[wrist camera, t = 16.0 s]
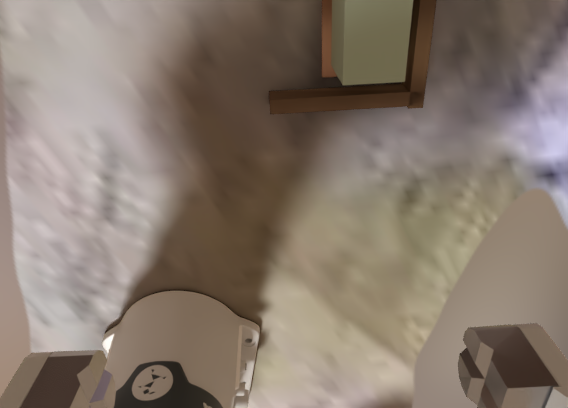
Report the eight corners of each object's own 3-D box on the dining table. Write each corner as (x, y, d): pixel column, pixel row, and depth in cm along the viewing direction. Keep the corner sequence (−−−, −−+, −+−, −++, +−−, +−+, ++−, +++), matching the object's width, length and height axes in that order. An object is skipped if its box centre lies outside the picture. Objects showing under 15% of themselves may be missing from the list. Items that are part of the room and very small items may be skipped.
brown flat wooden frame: (413, 98, 38) (422, 107, 36) (269, 106, 38) (270, 116, 36) (438, -114, 30) (451, -118, 28) (256, -105, 30) (256, -108, 28)
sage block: (392, -48, 32) (418, -47, 27) (384, 62, 36) (404, 81, 31) (332, -45, 32) (346, -43, 27) (331, 65, 36) (342, 85, 31)
